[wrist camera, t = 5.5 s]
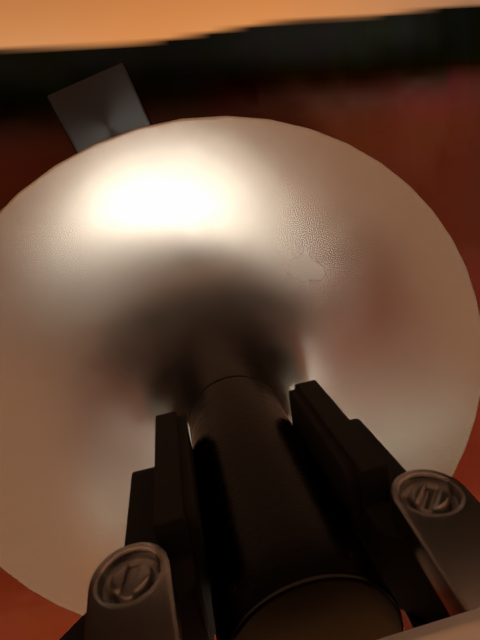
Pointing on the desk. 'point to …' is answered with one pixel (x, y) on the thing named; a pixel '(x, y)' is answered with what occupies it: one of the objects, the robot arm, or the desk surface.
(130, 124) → the pan
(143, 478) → the robot arm
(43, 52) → the desk surface
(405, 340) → the lid
